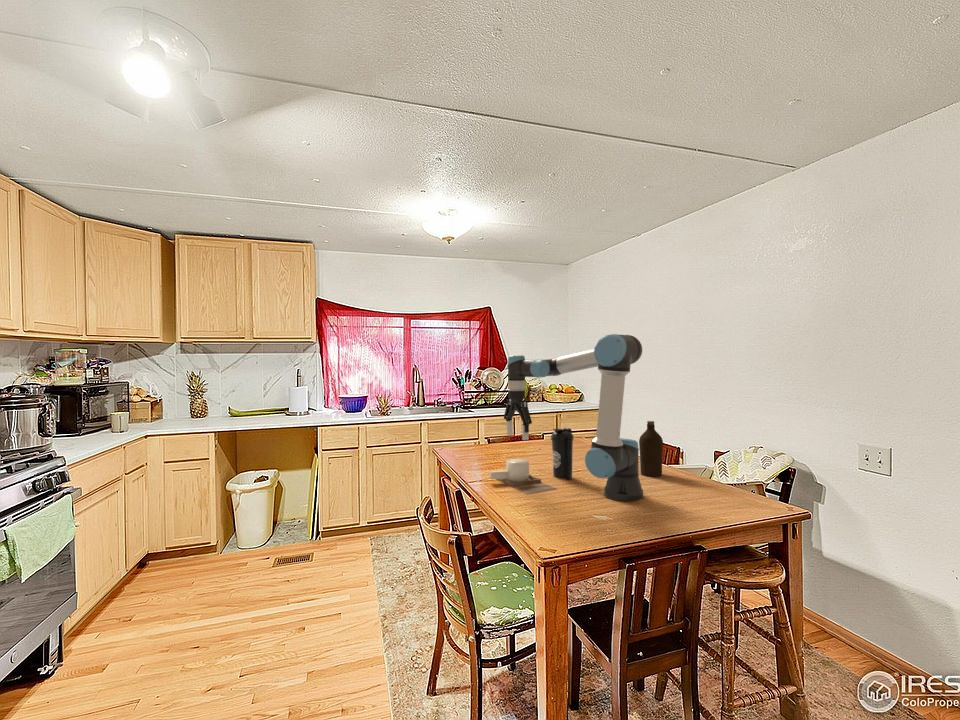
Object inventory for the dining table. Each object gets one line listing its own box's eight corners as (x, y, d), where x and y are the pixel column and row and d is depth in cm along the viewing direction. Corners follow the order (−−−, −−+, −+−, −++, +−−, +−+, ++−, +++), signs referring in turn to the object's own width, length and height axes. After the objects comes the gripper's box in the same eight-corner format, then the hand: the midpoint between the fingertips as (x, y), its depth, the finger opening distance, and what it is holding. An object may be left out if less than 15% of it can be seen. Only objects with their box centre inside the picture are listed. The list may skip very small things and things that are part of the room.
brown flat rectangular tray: (558, 491, 198) (557, 485, 198) (527, 496, 191) (527, 491, 191) (523, 476, 222) (523, 471, 222) (495, 481, 215) (495, 475, 215)
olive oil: (666, 477, 218) (665, 423, 217) (642, 477, 219) (641, 423, 218) (659, 471, 228) (659, 419, 228) (637, 471, 229) (636, 419, 229)
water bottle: (547, 476, 222) (546, 427, 221) (565, 474, 226) (564, 426, 226) (559, 482, 212) (559, 430, 212) (578, 479, 217) (577, 429, 216)
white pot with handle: (525, 477, 217) (524, 458, 216) (532, 483, 207) (532, 463, 207) (487, 480, 213) (487, 460, 213) (493, 486, 203) (493, 465, 203)
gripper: (539, 391, 202) (540, 441, 202) (509, 388, 224) (510, 432, 225) (524, 392, 199) (525, 442, 199) (496, 388, 221) (496, 434, 221)
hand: (517, 437), depth 212 cm, fingers open, 13 cm apart
